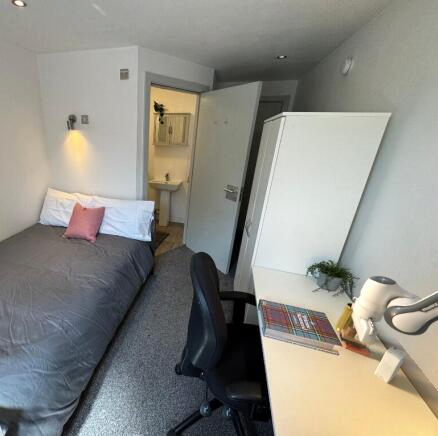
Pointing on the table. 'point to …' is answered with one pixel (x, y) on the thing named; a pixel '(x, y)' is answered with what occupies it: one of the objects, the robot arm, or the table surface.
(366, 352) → the tile
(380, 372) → the cosmetic box
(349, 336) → the brush
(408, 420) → the table surface
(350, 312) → the vase
